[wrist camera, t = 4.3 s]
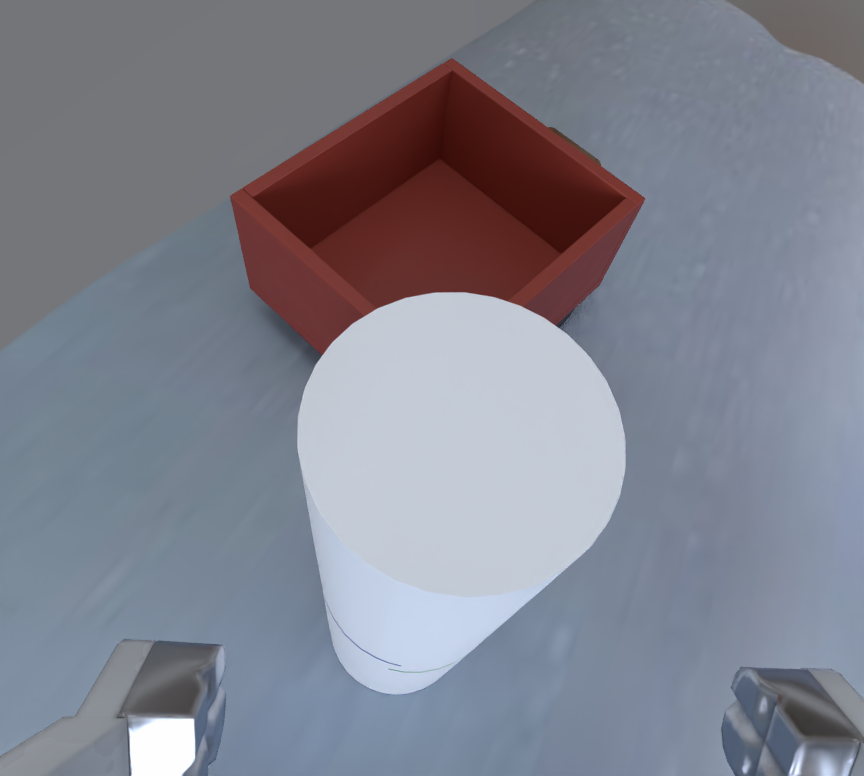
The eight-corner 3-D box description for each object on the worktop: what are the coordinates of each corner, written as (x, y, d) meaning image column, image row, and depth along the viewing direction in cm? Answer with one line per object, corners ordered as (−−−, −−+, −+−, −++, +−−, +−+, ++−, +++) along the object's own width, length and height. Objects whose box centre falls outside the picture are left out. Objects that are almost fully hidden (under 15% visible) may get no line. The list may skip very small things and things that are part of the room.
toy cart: (480, 154, 54) (508, 21, 44) (630, 268, 50) (698, 152, 40) (255, 315, 45) (229, 195, 35) (417, 469, 41) (437, 382, 32)
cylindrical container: (366, 533, 39) (384, 250, 17) (483, 587, 38) (660, 363, 16) (305, 658, 36) (231, 504, 14) (432, 719, 35) (569, 659, 13)
